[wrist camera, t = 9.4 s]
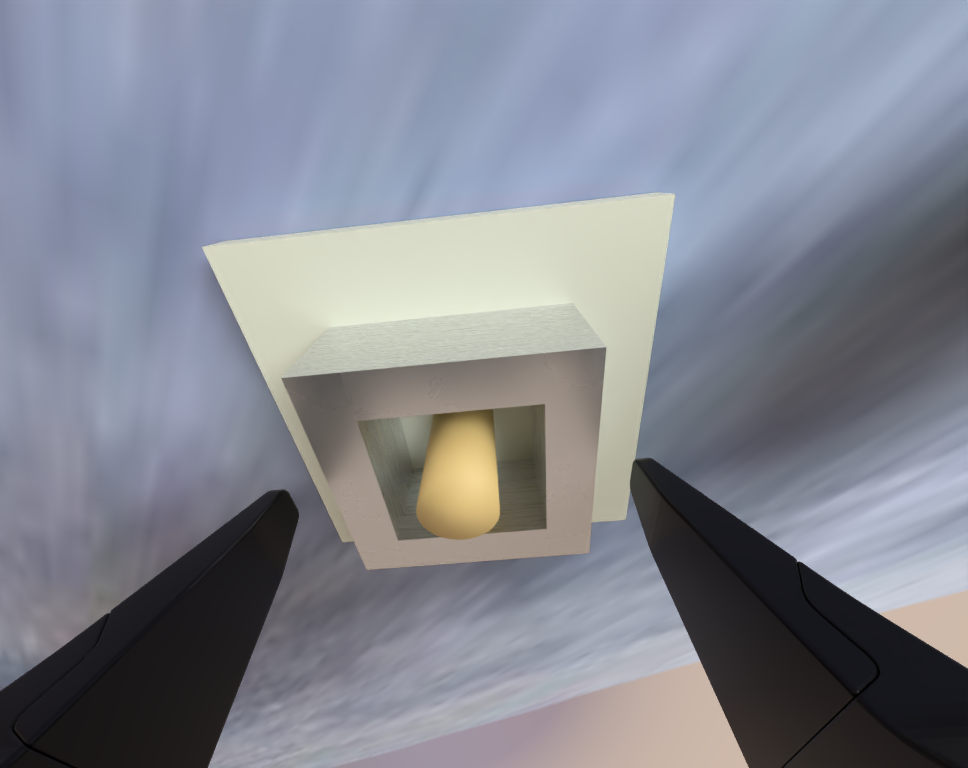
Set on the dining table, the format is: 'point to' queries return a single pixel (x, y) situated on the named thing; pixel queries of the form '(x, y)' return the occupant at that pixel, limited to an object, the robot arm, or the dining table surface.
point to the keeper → (461, 290)
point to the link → (445, 389)
